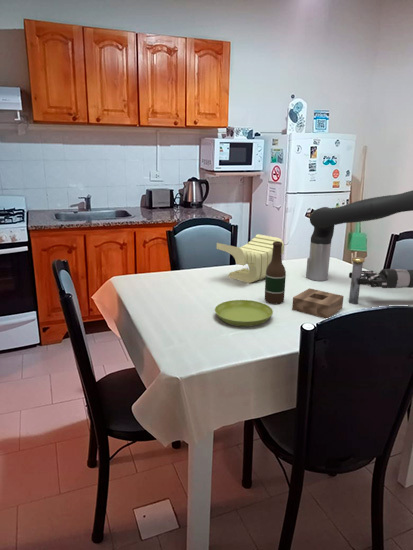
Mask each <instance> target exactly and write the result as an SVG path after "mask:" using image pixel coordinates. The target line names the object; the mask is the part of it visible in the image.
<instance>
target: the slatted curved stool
mask: <svg viewBox="0 0 413 550" xmlns="http://www.w3.org/2000/svg"><path fill="white" fill-rule="evenodd" d="M273 242H282V255H284V250H285V243H284V241H283V239H281V238H279V237H275V236H270V235H264V234H261V233H257V234H256V235H255V237H253V238H252V239H251V240H250V241H248V243H246V244H244V245H242V246H240V247H239V246H234V245H229V244H226V243H219V242H216V250H220V251H223V252H226V253H228V254H230V255H231V256H232V257H233V259H234V260H235V264H236V265H239V266H246V265H247V266H248V268H241V269H238V270H234V271H231V272H229V274H228V277H227V278H230V279H233V280H238V281H242V282H245V283H249V284H251V283H254V282H256V281H260V280H262V279H266V269H267V267H268V265H269V264H270V263H271V260H272V253H273Z"/></svg>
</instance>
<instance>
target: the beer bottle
mask: <svg viewBox="0 0 413 550" xmlns="http://www.w3.org/2000/svg"><path fill="white" fill-rule="evenodd" d="M282 255H283V254H282V242H273V253H272V260H271V263H270V264H269V265H268V267H267V269H266V278H265V284H264V301H265V302H266V303H268V304H271V305H280V304H283V303H284V301H285V291H286V276H287V275H286V272H287V271H286V267H285V265H284V263H283V260H282V258H283V257H282Z"/></svg>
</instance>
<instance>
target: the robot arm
mask: <svg viewBox="0 0 413 550" xmlns="http://www.w3.org/2000/svg"><path fill="white" fill-rule="evenodd" d="M412 211H413V189H412V190H409V191H405V192H403V193H398V194H392V195H391V194H390V195H383V196H381V195H380V196H375V197H370V198H365V199H361V200H356V201H354V202H350V203H347V204H345V205H341V206H338V207H328V206H324V207H323V206H322V207H319V208H317V209H315V210H314V211H313V212H312V213H311V214H310V216H309V223H310V224H311V225H312V226H313V232H312V235H311V236H310V245H309V247H310V248H309V257H307V261H306V270H305V271H306V272H305V273H306V274H305V278H306V279H309V280H311V281H317V282H318V281H319V282H323V281H327V280H328V278H329V268H330V260H331V258H330V257H331V247H332V240H333V237H334V233H335V226H336V225H341V224H349V223H360V222H369V221H370V222H371V221H375V220H376V221H377V220H380V219H384V218H387V217H390V216H393V215H395V214H399V213H404V212H412ZM348 278H349V279H351V278H352V271H351V272H349V273H348ZM357 284H358V285H360V286H362V285H363V286H369V287H371V288H382V289H405V288H406V289H407V288H409V289H410V288H411V289H412V288H413V269H401V268H383V269H381V270H380V271H379V273H377V272H375V271H374V270H362V274H361V279H357Z"/></svg>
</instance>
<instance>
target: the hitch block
mask: <svg viewBox="0 0 413 550" xmlns="http://www.w3.org/2000/svg"><path fill="white" fill-rule="evenodd" d="M343 304H344V295H341V294H337V293H332V292H328V291H325V290H319V289H314V288H307V289H306V290H304V291H302V292H300V293H298V294H296V295H294V296H293V297H292V305H291V306H292V307H291V311H295V312H299V313H301V314H302V313H303V314H307V315H310V316H311V315H312V316H314V317H318V318H322V319H326V318H328V319H329V317H330V318H331V317H332V316H335V314H337V312H339V311H340V310H342V309H343V307H344V305H343ZM326 320H327V319H326Z"/></svg>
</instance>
